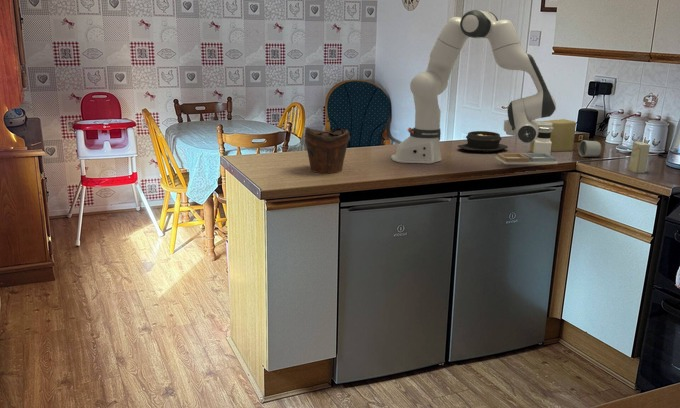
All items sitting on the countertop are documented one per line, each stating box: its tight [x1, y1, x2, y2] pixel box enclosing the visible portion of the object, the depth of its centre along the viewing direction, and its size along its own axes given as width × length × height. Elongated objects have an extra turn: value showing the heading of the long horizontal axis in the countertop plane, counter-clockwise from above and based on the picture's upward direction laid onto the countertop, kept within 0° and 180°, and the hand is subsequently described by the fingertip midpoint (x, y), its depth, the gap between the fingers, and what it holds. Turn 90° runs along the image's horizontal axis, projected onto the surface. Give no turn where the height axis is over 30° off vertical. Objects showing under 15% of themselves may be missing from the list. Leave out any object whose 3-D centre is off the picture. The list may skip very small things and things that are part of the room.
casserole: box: [457, 130, 509, 153], centre depth 299 cm, size 25×19×8 cm
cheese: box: [529, 118, 577, 153], centre depth 299 cm, size 22×10×15 cm, turn 112°
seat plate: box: [494, 152, 559, 165], centre depth 277 cm, size 24×13×2 cm, turn 95°
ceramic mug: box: [578, 139, 603, 158], centre depth 289 cm, size 11×8×8 cm
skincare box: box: [628, 141, 651, 174], centre depth 258 cm, size 6×4×12 cm
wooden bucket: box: [304, 127, 351, 174], centre depth 253 cm, size 18×20×18 cm
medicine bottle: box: [532, 132, 552, 156], centre depth 287 cm, size 7×7×12 cm
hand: (528, 123), depth 270 cm, fingers closed on sleeve, 5 cm apart
